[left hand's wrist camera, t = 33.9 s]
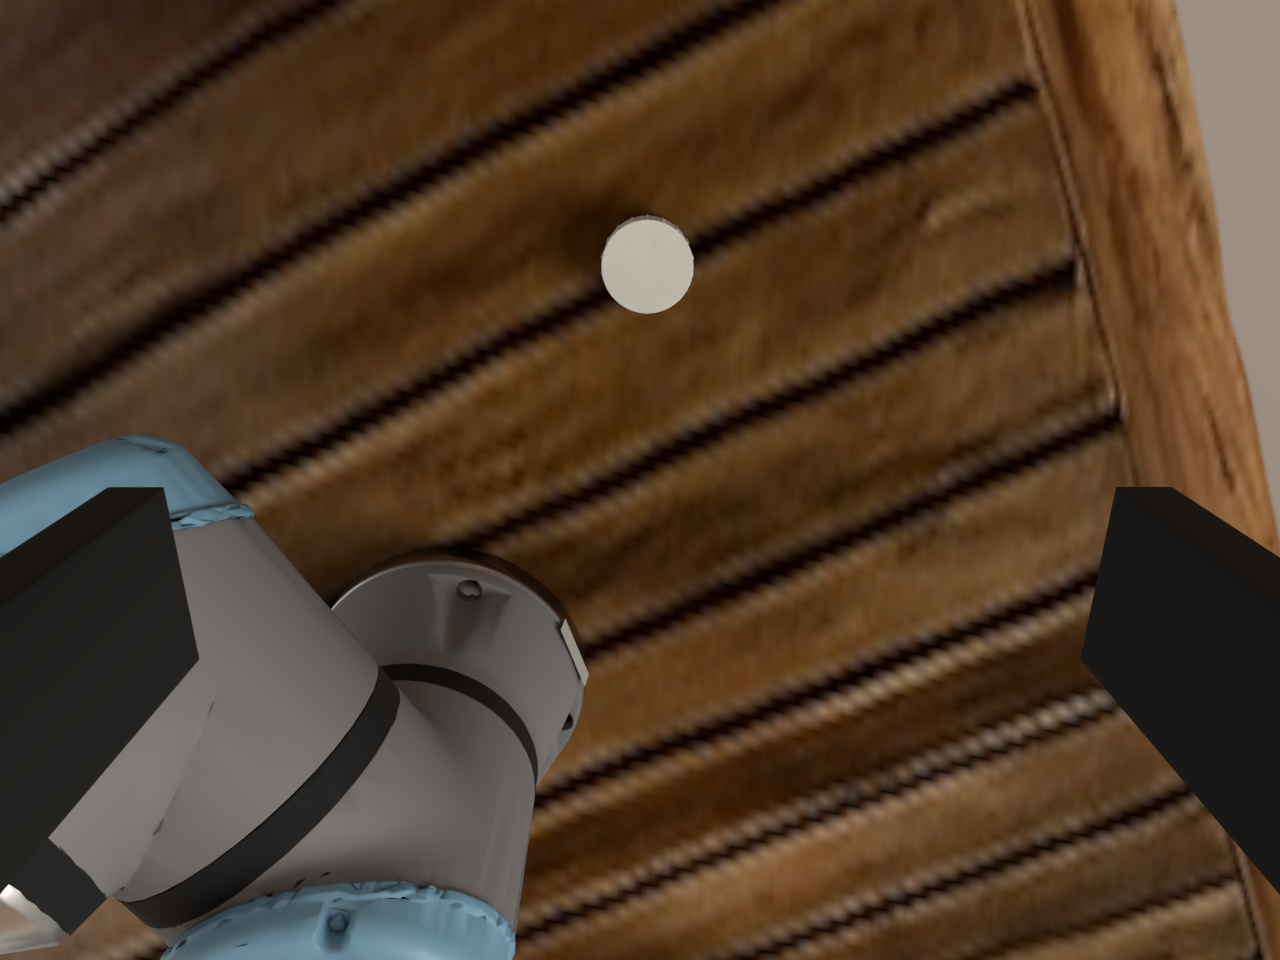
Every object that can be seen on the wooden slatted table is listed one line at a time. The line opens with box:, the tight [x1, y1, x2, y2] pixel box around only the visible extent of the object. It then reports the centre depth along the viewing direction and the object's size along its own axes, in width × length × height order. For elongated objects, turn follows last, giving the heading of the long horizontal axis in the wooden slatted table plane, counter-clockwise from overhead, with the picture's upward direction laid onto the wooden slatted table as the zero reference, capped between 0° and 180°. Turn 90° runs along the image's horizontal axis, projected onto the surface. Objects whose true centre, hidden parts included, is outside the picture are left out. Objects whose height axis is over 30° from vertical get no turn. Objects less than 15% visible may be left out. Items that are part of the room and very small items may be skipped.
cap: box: [601, 214, 694, 313], centre depth 42 cm, size 4×4×2 cm
